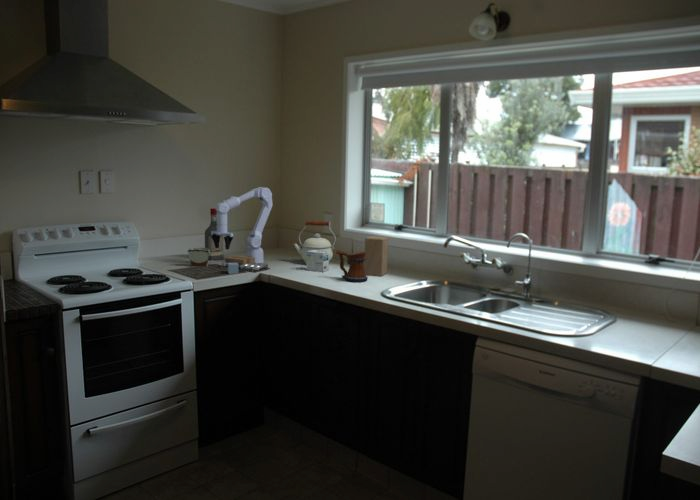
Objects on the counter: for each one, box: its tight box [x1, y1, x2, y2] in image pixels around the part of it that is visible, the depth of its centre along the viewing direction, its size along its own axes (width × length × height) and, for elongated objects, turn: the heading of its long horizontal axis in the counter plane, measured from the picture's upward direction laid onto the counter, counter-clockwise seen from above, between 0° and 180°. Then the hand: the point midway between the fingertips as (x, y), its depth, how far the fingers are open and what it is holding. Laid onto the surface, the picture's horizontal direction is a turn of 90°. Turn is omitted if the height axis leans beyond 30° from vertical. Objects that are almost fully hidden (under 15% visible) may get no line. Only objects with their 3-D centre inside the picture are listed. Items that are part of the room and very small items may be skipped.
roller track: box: [219, 261, 271, 274], centre depth 323 cm, size 13×24×3 cm, turn 61°
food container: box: [187, 247, 210, 268], centre depth 326 cm, size 12×6×10 cm, turn 84°
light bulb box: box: [306, 250, 330, 273], centre depth 322 cm, size 11×7×11 cm, turn 65°
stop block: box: [227, 263, 239, 275], centre depth 310 cm, size 5×5×6 cm
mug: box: [336, 249, 369, 283], centre depth 299 cm, size 18×12×15 cm, turn 57°
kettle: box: [293, 220, 337, 265], centre depth 342 cm, size 25×18×25 cm
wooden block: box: [364, 235, 389, 277], centre depth 314 cm, size 10×10×20 cm
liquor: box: [204, 207, 224, 261], centre depth 347 cm, size 9×9×30 cm
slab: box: [225, 255, 255, 265], centre depth 324 cm, size 10×12×2 cm
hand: (222, 248), depth 329 cm, fingers open, 7 cm apart
